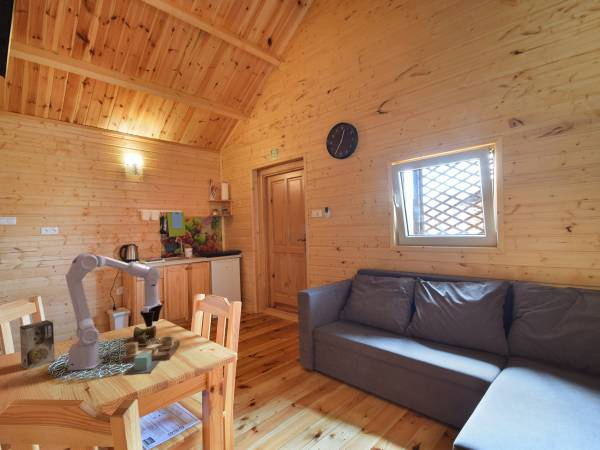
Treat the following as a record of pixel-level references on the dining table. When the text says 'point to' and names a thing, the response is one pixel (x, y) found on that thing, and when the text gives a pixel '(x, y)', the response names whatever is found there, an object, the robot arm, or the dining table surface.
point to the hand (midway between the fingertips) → (152, 324)
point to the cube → (142, 361)
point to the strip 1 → (132, 349)
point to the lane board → (161, 355)
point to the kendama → (143, 334)
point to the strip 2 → (163, 342)
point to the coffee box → (37, 344)
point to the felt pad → (149, 370)
